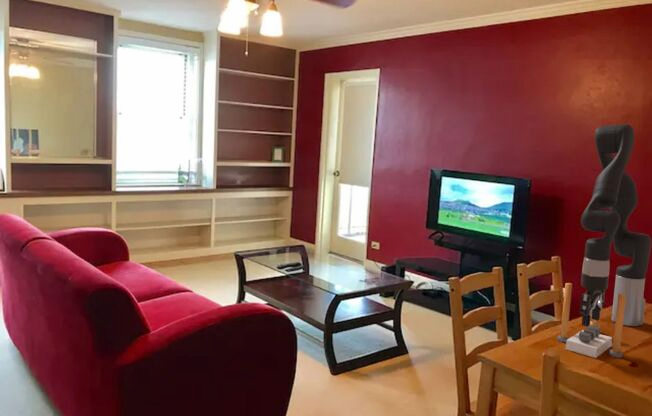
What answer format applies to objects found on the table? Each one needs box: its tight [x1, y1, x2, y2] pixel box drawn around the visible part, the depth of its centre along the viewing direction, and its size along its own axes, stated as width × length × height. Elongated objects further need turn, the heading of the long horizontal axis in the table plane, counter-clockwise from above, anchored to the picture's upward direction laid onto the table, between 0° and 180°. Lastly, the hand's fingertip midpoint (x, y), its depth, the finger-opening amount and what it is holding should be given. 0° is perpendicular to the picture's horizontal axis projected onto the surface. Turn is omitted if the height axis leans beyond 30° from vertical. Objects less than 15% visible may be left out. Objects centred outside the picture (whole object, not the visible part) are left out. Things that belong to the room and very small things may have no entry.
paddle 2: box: [587, 325, 601, 337], centre depth 176 cm, size 2×3×2 cm, turn 45°
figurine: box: [587, 307, 608, 329], centre depth 187 cm, size 8×6×12 cm
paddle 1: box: [578, 330, 591, 343], centre depth 170 cm, size 2×3×2 cm, turn 45°
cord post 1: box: [557, 282, 573, 344], centre depth 178 cm, size 4×4×19 cm
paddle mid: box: [583, 327, 596, 340], centre depth 173 cm, size 2×3×2 cm, turn 45°
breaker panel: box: [565, 329, 613, 359], centre depth 174 cm, size 14×9×3 cm, turn 135°
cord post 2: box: [608, 294, 626, 359], centre depth 167 cm, size 4×4×19 cm
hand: (590, 322), depth 172 cm, fingers open, 8 cm apart
